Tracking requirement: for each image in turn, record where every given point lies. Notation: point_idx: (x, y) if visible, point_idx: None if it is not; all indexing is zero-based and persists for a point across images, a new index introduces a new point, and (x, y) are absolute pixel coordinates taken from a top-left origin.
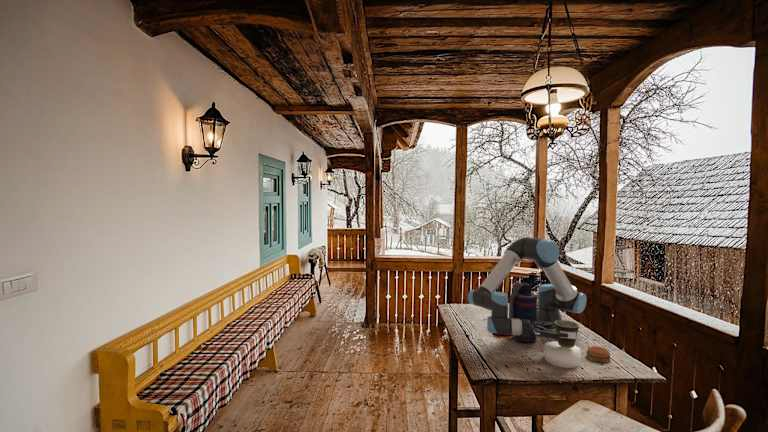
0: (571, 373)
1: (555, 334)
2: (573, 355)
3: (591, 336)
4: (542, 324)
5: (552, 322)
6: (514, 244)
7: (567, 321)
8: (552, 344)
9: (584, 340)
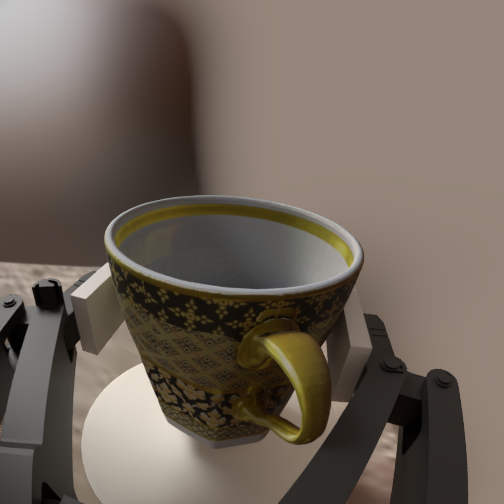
0: (384, 476)
1: (456, 409)
2: (330, 412)
3: (17, 268)
4: (37, 459)
5: (17, 303)
6: None
7: (142, 213)
8: (141, 476)
9: (27, 293)
